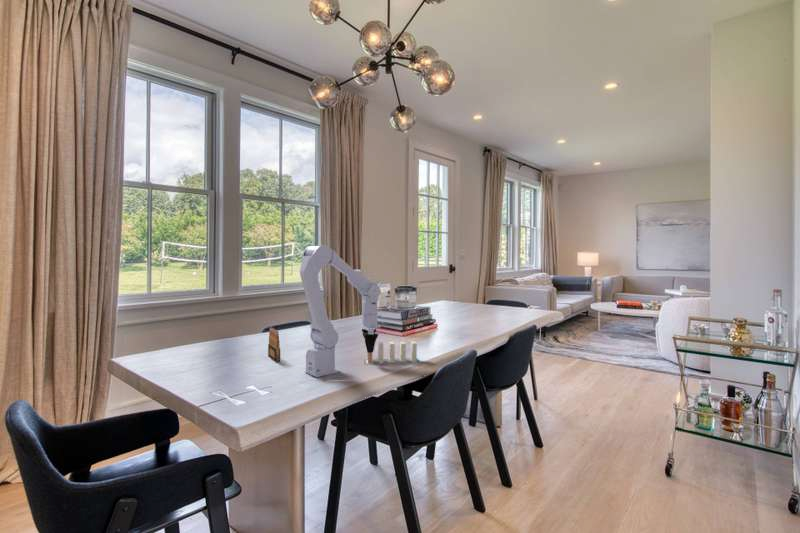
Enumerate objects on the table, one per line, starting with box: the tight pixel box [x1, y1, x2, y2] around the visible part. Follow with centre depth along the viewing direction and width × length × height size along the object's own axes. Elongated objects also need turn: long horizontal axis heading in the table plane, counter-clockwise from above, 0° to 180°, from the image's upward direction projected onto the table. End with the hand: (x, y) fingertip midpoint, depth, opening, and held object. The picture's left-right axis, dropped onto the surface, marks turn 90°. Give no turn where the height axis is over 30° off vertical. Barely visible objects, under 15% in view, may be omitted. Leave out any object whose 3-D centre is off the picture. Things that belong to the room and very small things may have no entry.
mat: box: [363, 357, 421, 366], centre depth 155 cm, size 21×7×1 cm, turn 98°
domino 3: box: [399, 341, 407, 362], centre depth 156 cm, size 2×4×7 cm, turn 8°
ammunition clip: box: [267, 326, 281, 363], centre depth 159 cm, size 11×2×12 cm, turn 33°
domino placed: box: [366, 352, 373, 363], centre depth 154 cm, size 2×4×7 cm, turn 9°
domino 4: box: [410, 340, 418, 362], centre depth 156 cm, size 2×4×7 cm, turn 8°
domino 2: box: [388, 341, 396, 363], centre depth 155 cm, size 2×4×7 cm, turn 8°
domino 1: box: [377, 341, 384, 363], centre depth 154 cm, size 2×4×7 cm, turn 8°
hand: (369, 349), depth 154 cm, fingers open, 7 cm apart
